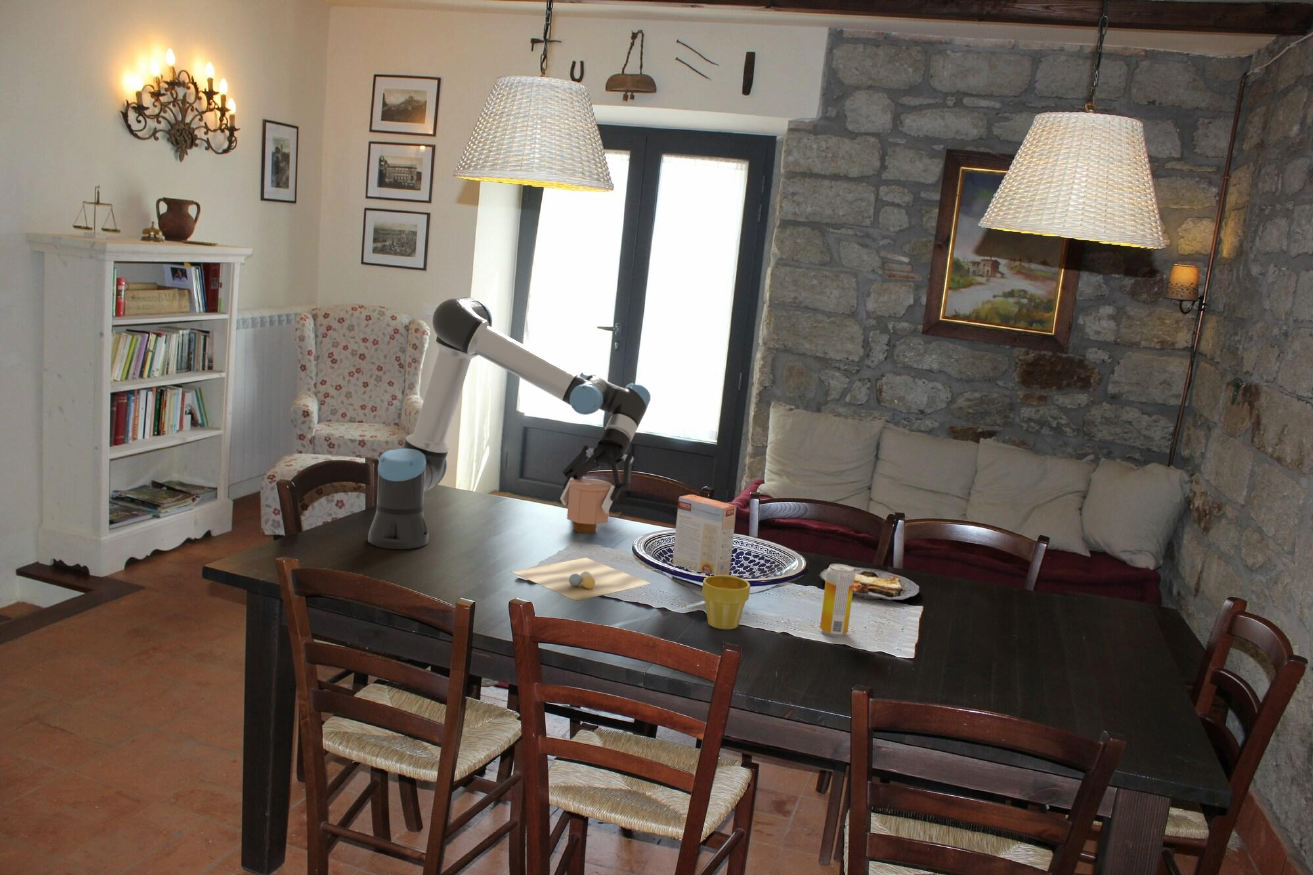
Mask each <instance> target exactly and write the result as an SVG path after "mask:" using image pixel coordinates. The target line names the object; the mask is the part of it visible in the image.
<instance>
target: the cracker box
mask: <svg viewBox="0 0 1313 875" xmlns="http://www.w3.org/2000/svg"><path fill="white" fill-rule="evenodd" d="M736 515H737V505H735V504H731V503H727V502H723V501H719V500H715V499H711V498H707V497H703V496H698V495H696V494H686V495H682V496H681V495H680V496H679V497H678V503H677V514H676V524H675V525H676V526H675V533H674V545H673V554H672V562H671V563H672V564H676V565H678V566H681V567H684V568H687V569H688V570H694V571H696V572H702V573H707V574H713V575H727V576H730V573H731V572H730V571H731V565H732V564H731V563H732V552H733V543H734V534H735V524H736Z"/></svg>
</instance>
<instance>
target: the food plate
mask: <svg viewBox="0 0 1313 875" xmlns="http://www.w3.org/2000/svg"><path fill="white" fill-rule="evenodd" d="M851 567H852V568H854V573H855V579H854V587H853V594H852V595H853V596H857V597H859V598H863V599H867V600H868V599H875V600H879V599H881V600H891V601H893V600H905V599H908V598H910V597H914V596H916V595H917V594H918V593H919V592H920V586H919V585H918V584H916V583H915V582H913V581H912V580H910V579H909V578H906V577H904V576H901V575H897V574H893V573H891V572H888V571H886V570H882V569H876V568H867V567H857V566H851ZM827 569H828V568H825V569H823V570H822V571H821V572H820V573H819V576H818V577H819V578H820V579H821V580H823V582H824V583H825V582H826V574H827ZM899 593H900V595H899Z"/></svg>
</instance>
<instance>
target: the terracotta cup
mask: <svg viewBox="0 0 1313 875" xmlns="http://www.w3.org/2000/svg"><path fill="white" fill-rule="evenodd" d="M611 485H613V484H612V483H611V482H609V481H606V480H601V479H596V478H582V477H581V478H579V479H573V480H570V483H569V486H570V487H569V500H568V502H567V512H566V519H567V520H569V521H571V522H573V521H574V522H577V523H584V524H597V525H600V524H606V523H607V524H608V522H609V515H610V510H609V511H608V513H604V511H603V509H602V504H603V502H604V500H605V498H606V496H607V494H608V492H609V490H610V488H611Z"/></svg>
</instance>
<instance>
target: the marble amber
mask: <svg viewBox="0 0 1313 875" xmlns="http://www.w3.org/2000/svg"><path fill="white" fill-rule="evenodd" d="M582 584H583V586H584V587H585V588H586V589H591V588H593V587H594V585H595V580H594V578H593V577H591V576H586V577H584V579H583V581H582Z"/></svg>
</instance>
